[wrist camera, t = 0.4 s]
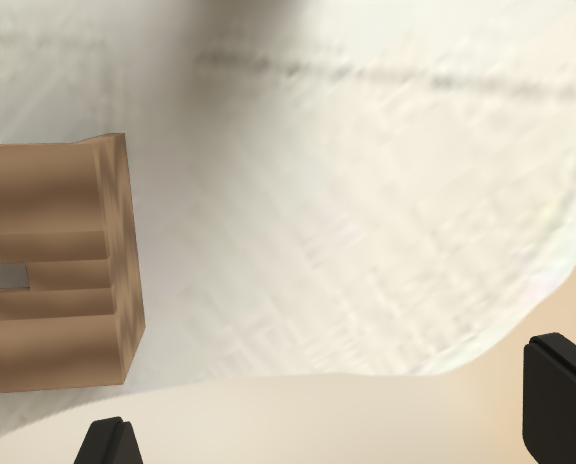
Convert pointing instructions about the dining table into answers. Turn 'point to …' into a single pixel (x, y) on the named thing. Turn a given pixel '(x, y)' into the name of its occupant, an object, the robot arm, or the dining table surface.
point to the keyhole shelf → (68, 265)
